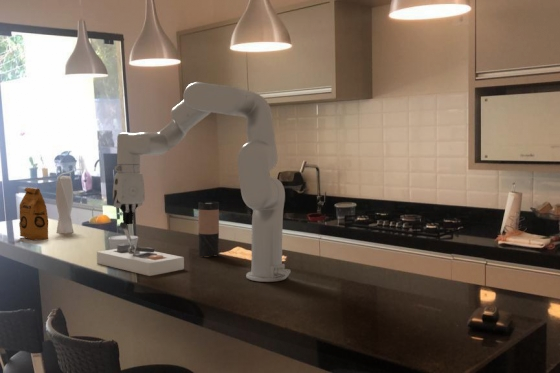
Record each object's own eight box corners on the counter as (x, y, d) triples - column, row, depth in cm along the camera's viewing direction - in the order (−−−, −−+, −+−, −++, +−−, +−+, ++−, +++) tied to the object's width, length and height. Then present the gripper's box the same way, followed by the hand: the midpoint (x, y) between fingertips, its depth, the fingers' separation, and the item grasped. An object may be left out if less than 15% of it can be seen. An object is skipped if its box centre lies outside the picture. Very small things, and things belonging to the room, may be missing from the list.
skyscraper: (64, 231, 272) (63, 172, 270) (77, 231, 270) (77, 172, 268) (52, 233, 264) (52, 172, 262) (66, 234, 262) (65, 173, 260)
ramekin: (106, 249, 226) (105, 236, 225) (134, 247, 231) (134, 234, 230) (111, 254, 216) (111, 240, 215) (141, 252, 221) (141, 238, 220)
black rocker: (153, 252, 193) (154, 248, 193) (141, 251, 189) (141, 247, 189) (148, 251, 195) (148, 247, 195) (135, 250, 191) (136, 246, 191)
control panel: (183, 269, 190) (183, 251, 190) (149, 275, 179) (149, 257, 179) (130, 257, 209) (130, 241, 208) (96, 263, 198) (96, 246, 197)
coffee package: (28, 241, 241) (28, 189, 240) (17, 237, 250) (16, 187, 249) (52, 238, 249) (51, 188, 247) (39, 235, 257) (39, 186, 256)
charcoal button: (132, 253, 200) (132, 244, 200) (122, 255, 196) (121, 246, 196) (125, 252, 203) (125, 243, 202) (114, 254, 199) (114, 244, 199)
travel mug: (215, 258, 210) (215, 203, 209) (195, 257, 211) (195, 203, 210) (221, 254, 217) (221, 201, 216) (202, 253, 219) (202, 201, 218)
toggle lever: (139, 250, 196) (127, 220, 191) (134, 254, 194) (121, 224, 190) (135, 250, 197) (122, 219, 193) (130, 253, 196) (117, 223, 191)
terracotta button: (166, 265, 188) (166, 256, 188) (155, 267, 185) (155, 257, 185) (157, 263, 191) (157, 254, 191) (146, 265, 188) (146, 256, 188)
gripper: (116, 170, 184) (115, 227, 185) (153, 169, 196) (152, 223, 197) (102, 169, 189) (102, 224, 190) (140, 168, 200) (139, 220, 202)
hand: (128, 223), depth 194 cm, fingers closed
